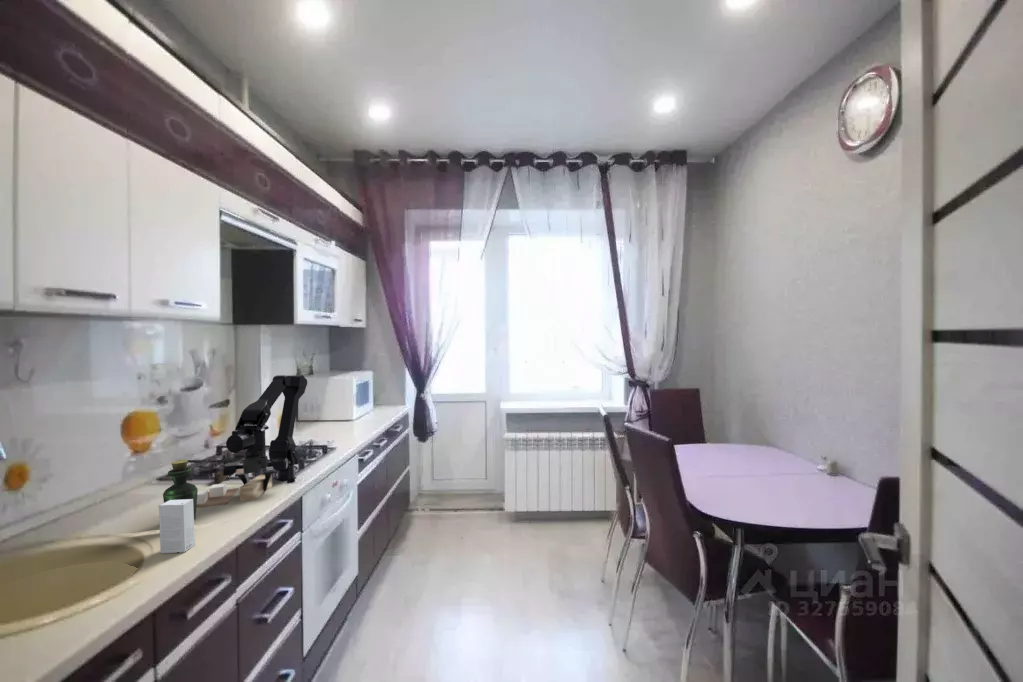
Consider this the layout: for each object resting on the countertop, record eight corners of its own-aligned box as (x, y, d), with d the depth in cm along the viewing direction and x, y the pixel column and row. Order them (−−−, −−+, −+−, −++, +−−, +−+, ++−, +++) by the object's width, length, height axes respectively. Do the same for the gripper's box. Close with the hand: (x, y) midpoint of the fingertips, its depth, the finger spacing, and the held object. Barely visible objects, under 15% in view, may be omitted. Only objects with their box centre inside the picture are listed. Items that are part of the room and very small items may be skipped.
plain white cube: (212, 493, 157) (212, 484, 157) (226, 492, 158) (226, 483, 158) (209, 497, 153) (209, 488, 153) (223, 495, 154) (223, 486, 154)
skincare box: (195, 545, 120) (194, 498, 120) (184, 553, 116) (183, 504, 116) (171, 546, 120) (169, 499, 120) (159, 553, 115) (157, 505, 115)
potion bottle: (169, 533, 128) (167, 467, 127) (159, 526, 133) (157, 462, 132) (203, 523, 134) (201, 460, 134) (192, 517, 139) (190, 456, 139)
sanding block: (260, 488, 163) (260, 474, 163) (272, 488, 164) (272, 473, 164) (240, 503, 149) (239, 487, 149) (253, 502, 150) (252, 486, 150)
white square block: (193, 501, 150) (192, 491, 150) (207, 499, 151) (207, 490, 151) (189, 505, 146) (188, 495, 146) (204, 503, 147) (203, 494, 147)
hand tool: (226, 473, 184) (226, 462, 184) (237, 472, 185) (237, 461, 185) (207, 489, 166) (206, 476, 165) (219, 488, 166) (219, 475, 166)
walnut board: (191, 496, 157) (191, 493, 157) (238, 491, 162) (238, 488, 162) (174, 513, 142) (174, 510, 142) (227, 507, 147) (227, 503, 147)
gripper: (217, 453, 146) (218, 503, 146) (283, 448, 152) (284, 496, 152) (226, 445, 156) (227, 492, 156) (287, 440, 162) (288, 485, 162)
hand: (257, 491), depth 156 cm, fingers closed on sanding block, 5 cm apart
